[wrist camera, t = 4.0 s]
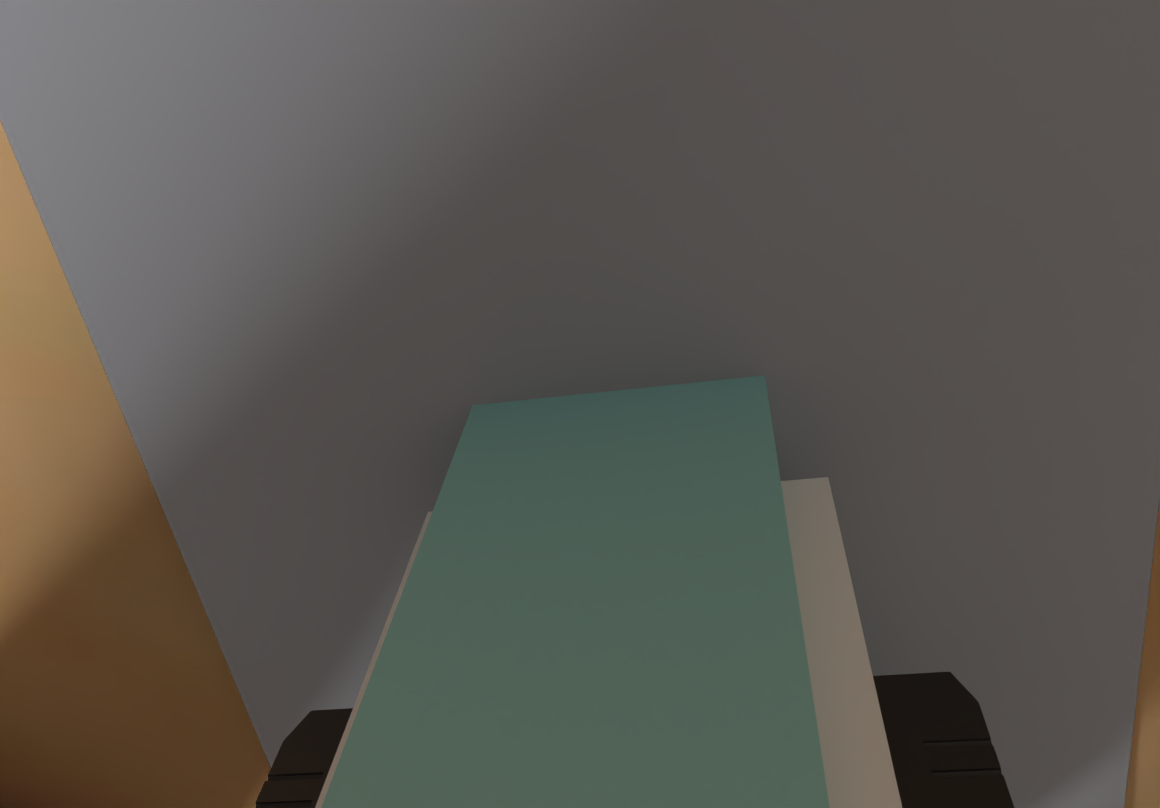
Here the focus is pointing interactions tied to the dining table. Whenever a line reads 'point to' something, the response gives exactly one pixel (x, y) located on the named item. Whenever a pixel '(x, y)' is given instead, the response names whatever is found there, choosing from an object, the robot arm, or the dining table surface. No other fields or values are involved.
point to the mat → (633, 297)
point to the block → (598, 618)
